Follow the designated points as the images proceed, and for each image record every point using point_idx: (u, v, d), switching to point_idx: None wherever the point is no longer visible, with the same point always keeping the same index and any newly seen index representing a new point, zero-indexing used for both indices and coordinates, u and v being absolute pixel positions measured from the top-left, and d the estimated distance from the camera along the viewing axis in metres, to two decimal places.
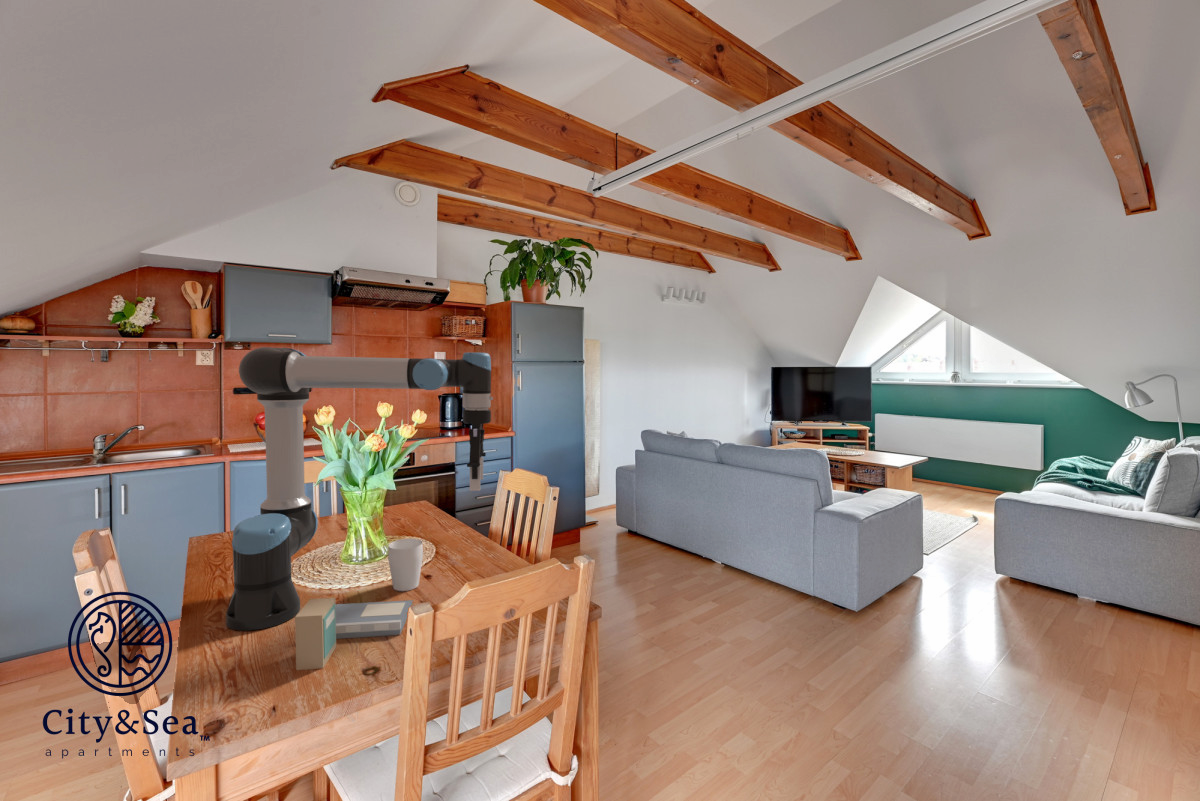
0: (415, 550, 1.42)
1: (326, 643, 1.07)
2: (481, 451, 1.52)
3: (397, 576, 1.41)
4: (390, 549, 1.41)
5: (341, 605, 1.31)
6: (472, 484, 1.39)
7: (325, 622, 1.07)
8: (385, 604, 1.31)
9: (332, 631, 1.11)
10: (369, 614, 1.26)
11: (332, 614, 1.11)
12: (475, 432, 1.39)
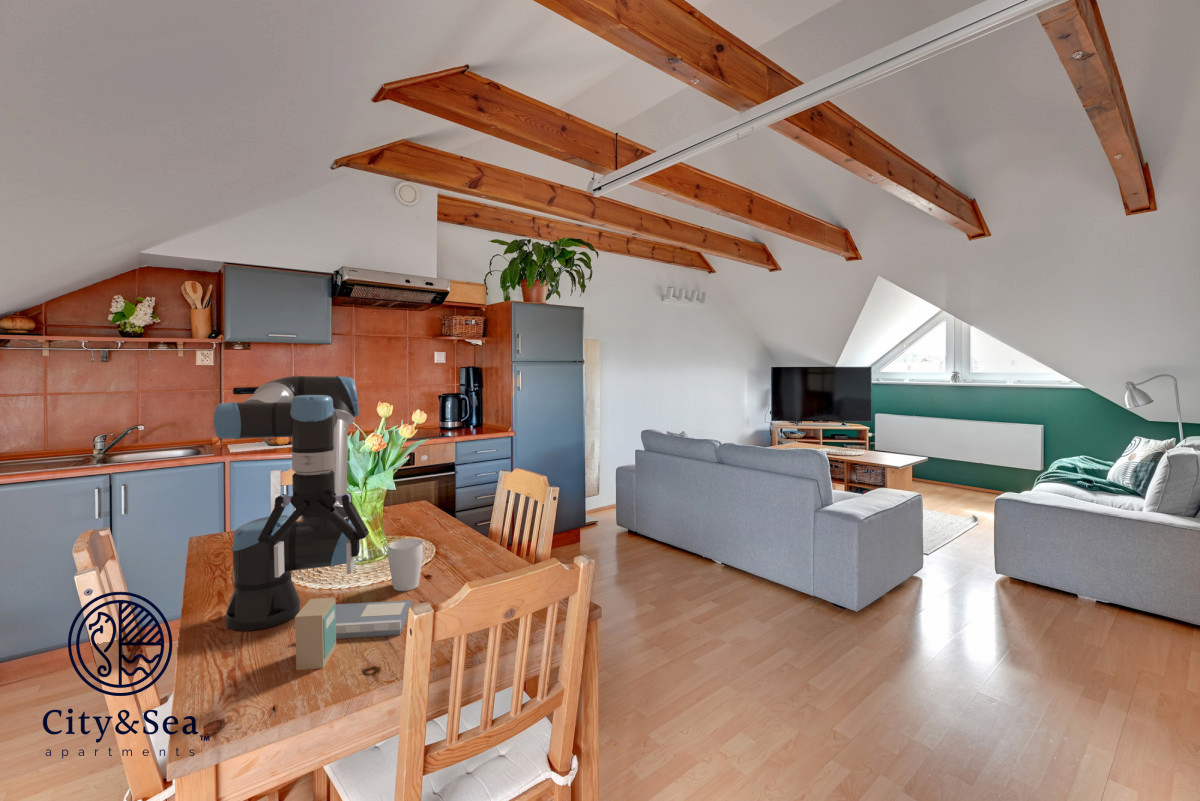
0: (415, 550, 1.42)
1: (326, 643, 1.07)
2: None
3: (397, 576, 1.41)
4: (390, 549, 1.41)
5: (341, 605, 1.31)
6: None
7: (325, 622, 1.07)
8: (385, 604, 1.31)
9: (332, 631, 1.11)
10: (369, 614, 1.26)
11: (332, 614, 1.11)
12: None
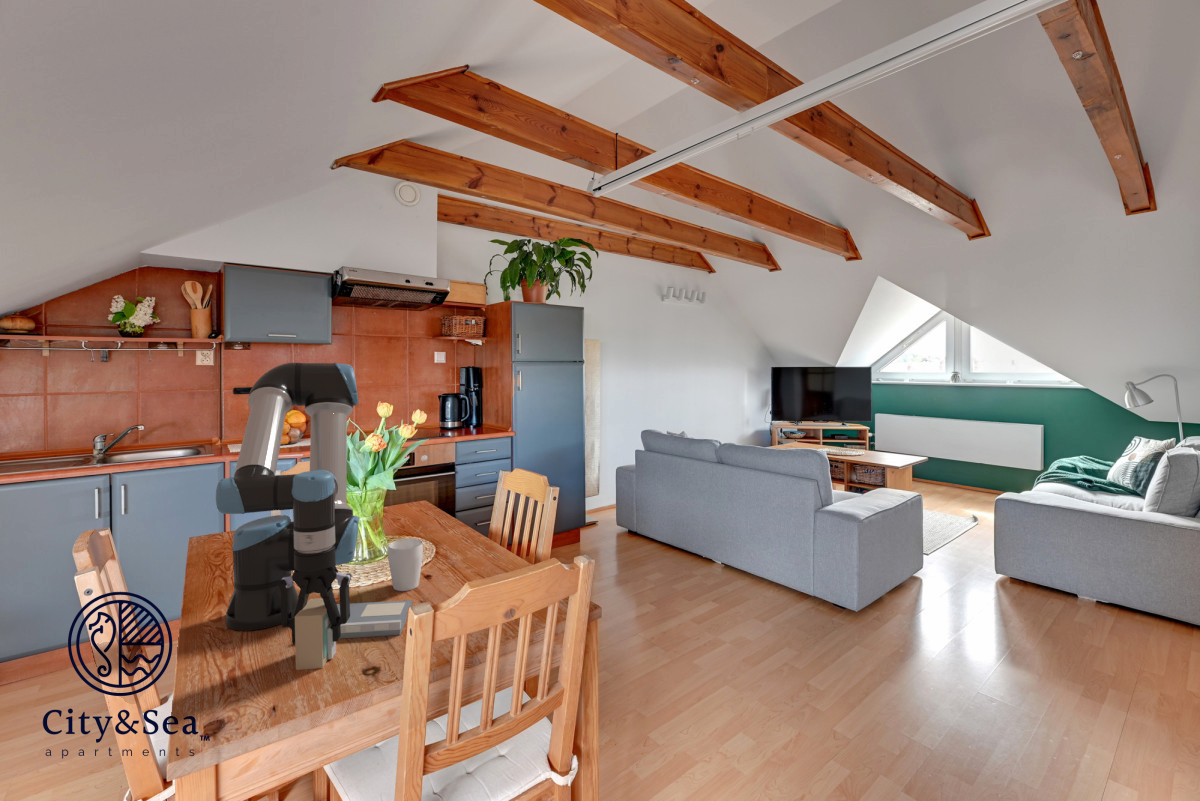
0: (415, 550, 1.42)
1: (326, 643, 1.07)
2: None
3: (397, 576, 1.41)
4: (390, 549, 1.41)
5: None
6: None
7: (325, 621, 1.07)
8: (385, 604, 1.31)
9: None
10: (369, 614, 1.26)
11: None
12: None
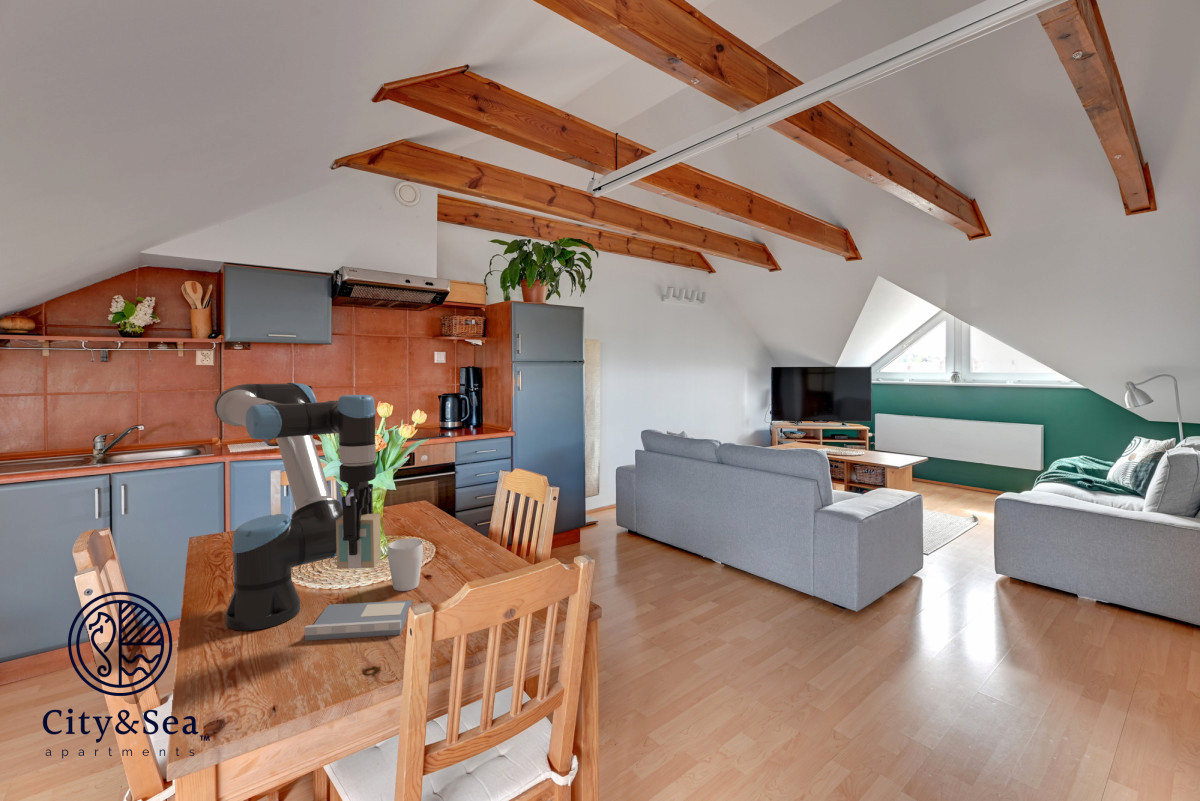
0: (415, 550, 1.42)
1: (344, 550, 1.18)
2: None
3: (397, 576, 1.41)
4: (390, 549, 1.41)
5: (341, 605, 1.31)
6: None
7: (342, 530, 1.18)
8: (385, 604, 1.31)
9: (361, 547, 1.18)
10: (369, 614, 1.26)
11: (360, 531, 1.18)
12: None
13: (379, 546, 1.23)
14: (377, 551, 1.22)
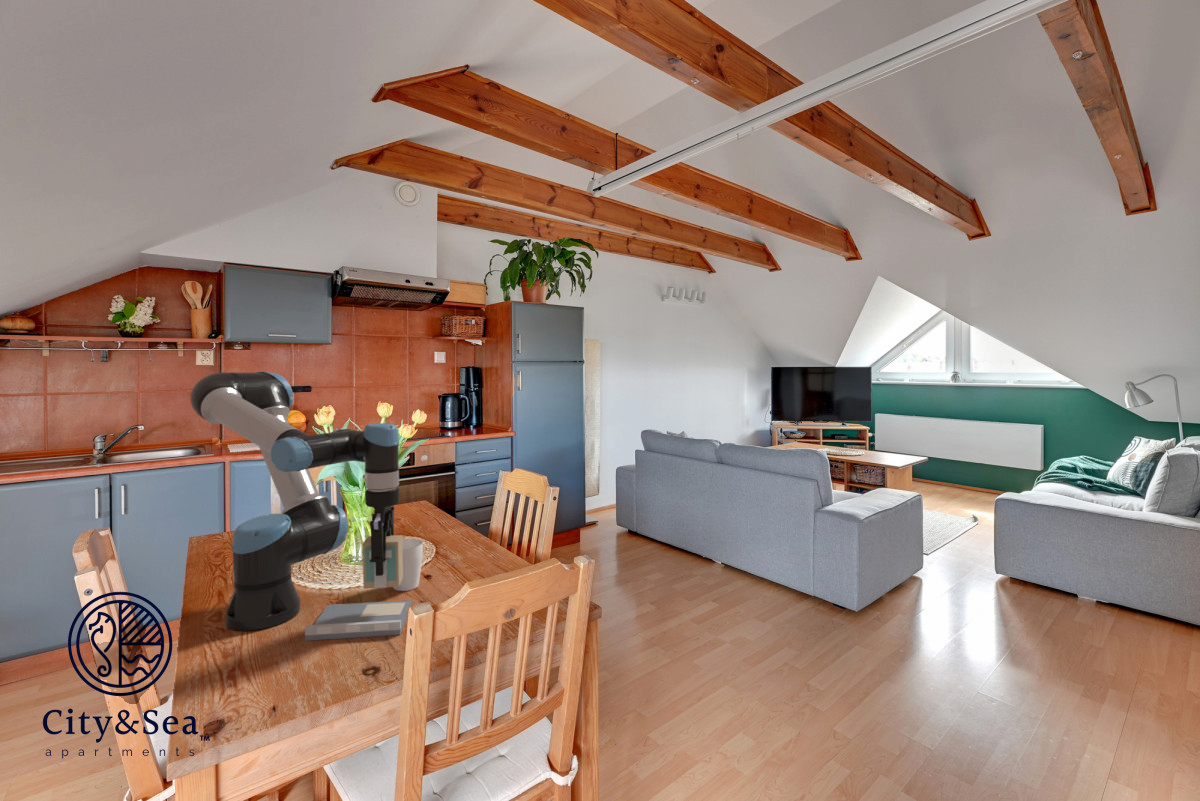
0: (415, 550, 1.42)
1: (370, 571, 1.25)
2: None
3: None
4: None
5: (341, 605, 1.31)
6: None
7: (369, 552, 1.25)
8: (385, 604, 1.31)
9: None
10: (369, 614, 1.26)
11: (386, 552, 1.25)
12: None
13: (401, 565, 1.30)
14: (401, 570, 1.29)
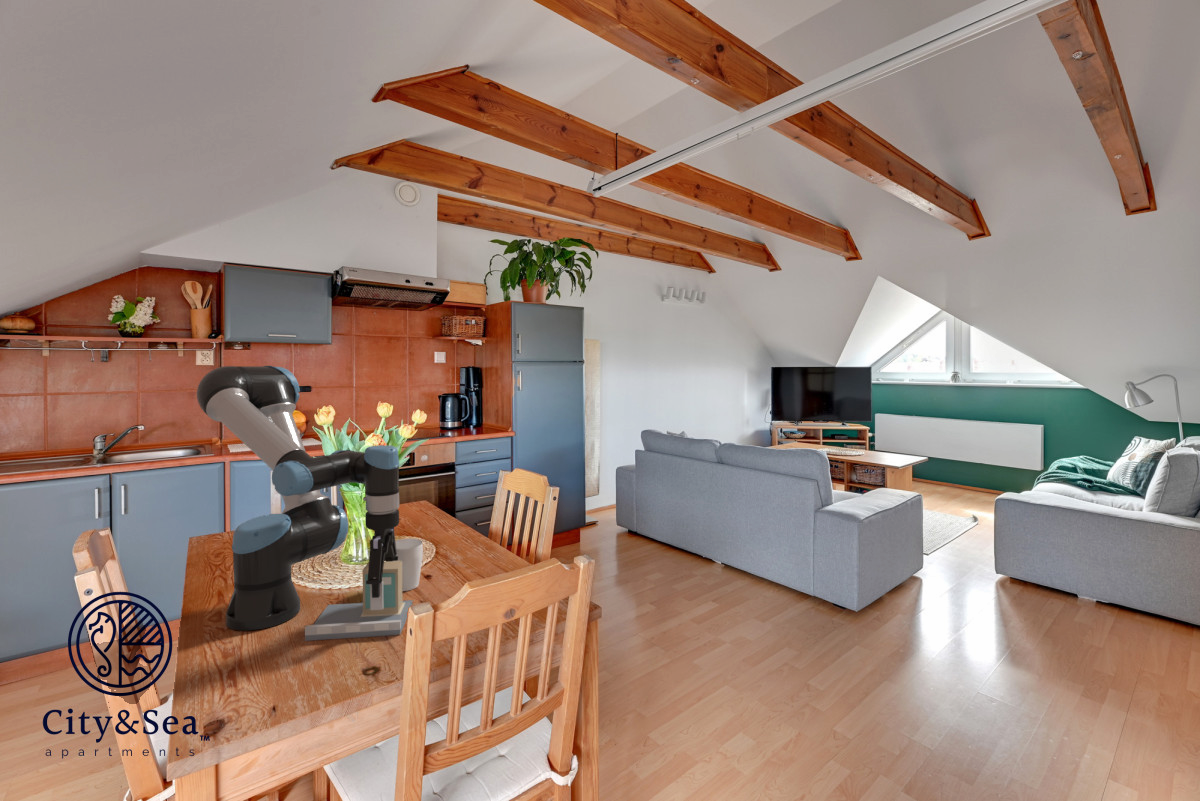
0: (415, 550, 1.42)
1: None
2: None
3: None
4: None
5: (341, 605, 1.31)
6: None
7: None
8: None
9: (386, 594, 1.26)
10: None
11: (386, 579, 1.26)
12: None
13: (401, 591, 1.30)
14: (400, 597, 1.29)
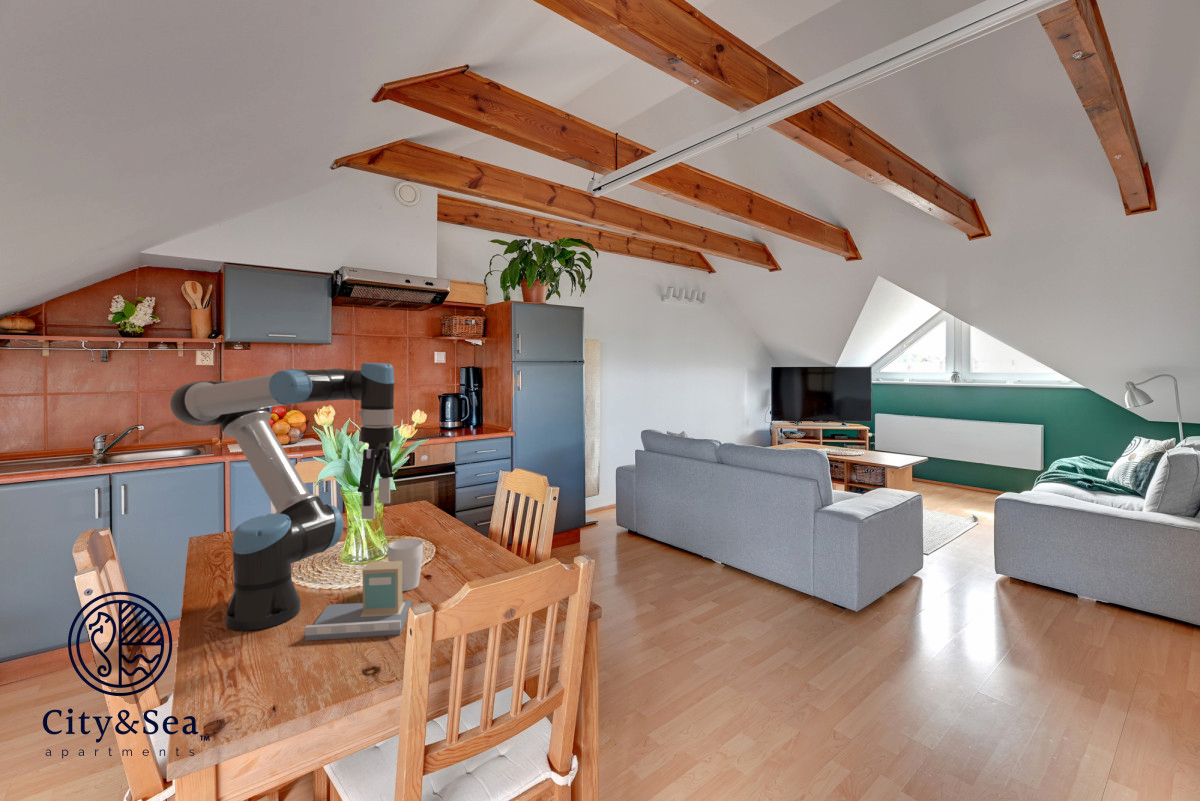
0: (415, 550, 1.42)
1: (370, 597, 1.25)
2: None
3: None
4: (390, 549, 1.41)
5: (341, 605, 1.31)
6: None
7: (369, 579, 1.25)
8: None
9: (386, 594, 1.26)
10: None
11: (386, 579, 1.26)
12: None
13: (401, 591, 1.30)
14: (400, 597, 1.29)
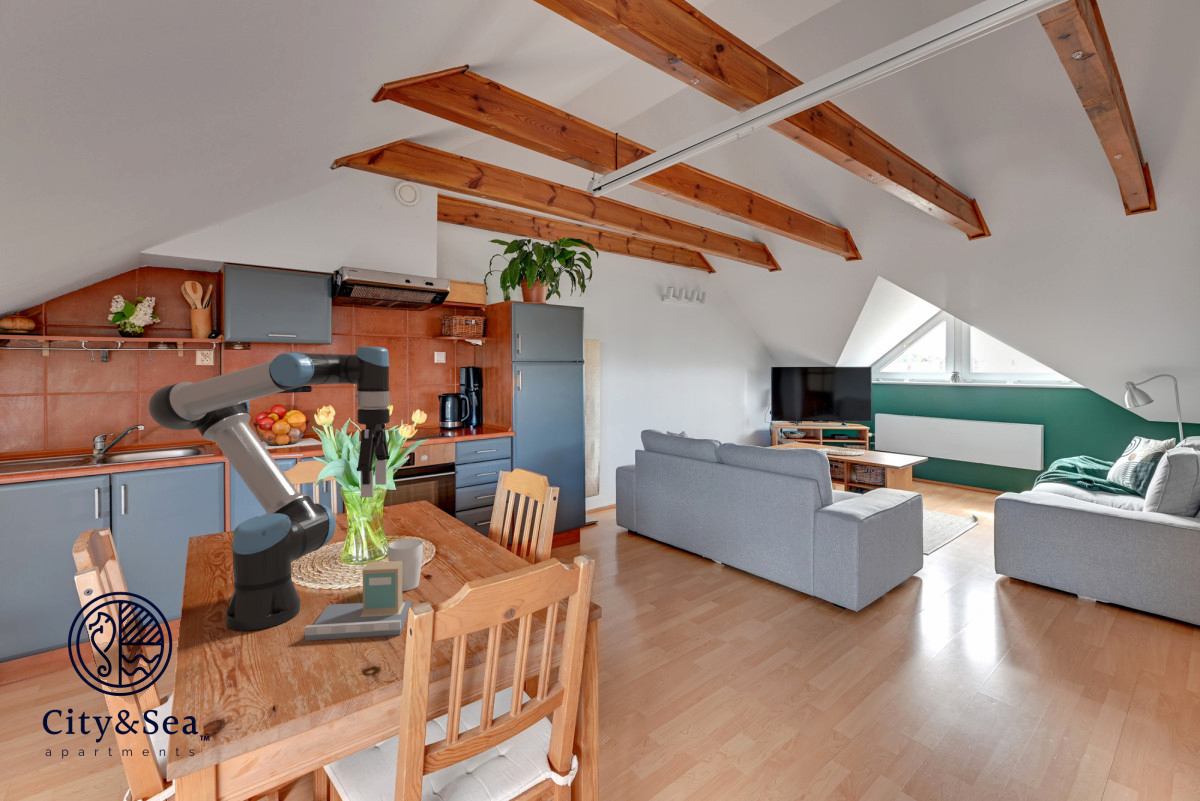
0: (415, 550, 1.42)
1: (370, 597, 1.25)
2: None
3: None
4: (390, 549, 1.41)
5: (341, 605, 1.31)
6: None
7: (369, 579, 1.25)
8: None
9: (386, 594, 1.26)
10: None
11: (386, 579, 1.26)
12: None
13: (401, 591, 1.30)
14: (400, 597, 1.29)
